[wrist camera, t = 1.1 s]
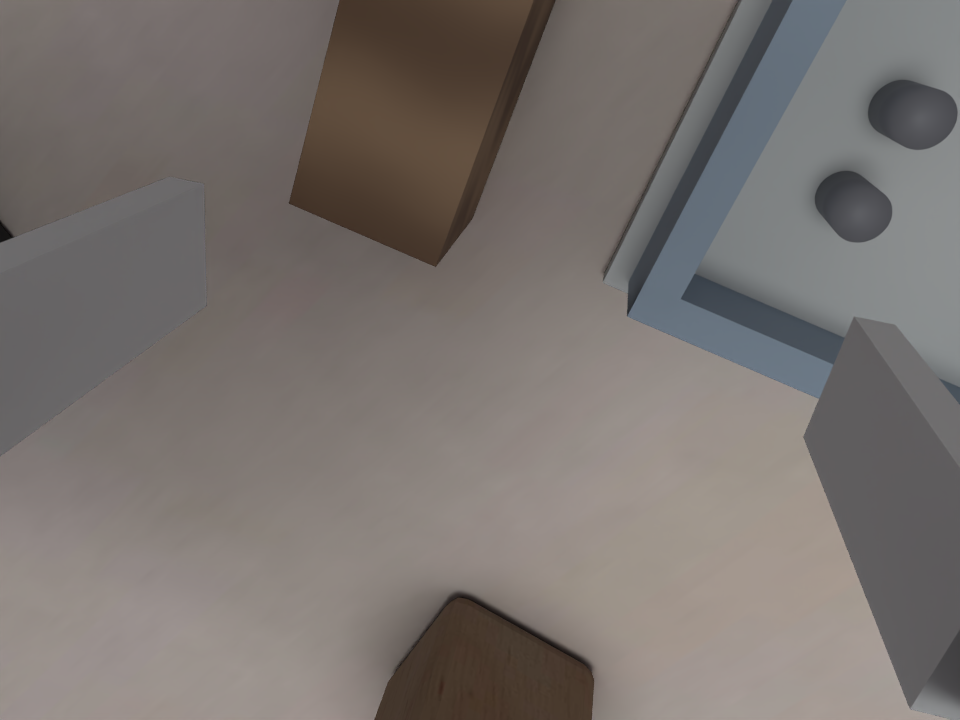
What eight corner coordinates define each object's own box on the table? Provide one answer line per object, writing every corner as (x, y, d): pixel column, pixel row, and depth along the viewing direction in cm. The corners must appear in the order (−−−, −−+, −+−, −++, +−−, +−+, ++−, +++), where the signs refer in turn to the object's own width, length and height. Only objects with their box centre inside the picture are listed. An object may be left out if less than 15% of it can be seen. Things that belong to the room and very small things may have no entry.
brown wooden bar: (473, 217, 34) (435, 266, 28) (352, 166, 34) (288, 203, 28) (615, -155, 27) (606, -200, 21) (463, -220, 27) (410, -284, 21)
